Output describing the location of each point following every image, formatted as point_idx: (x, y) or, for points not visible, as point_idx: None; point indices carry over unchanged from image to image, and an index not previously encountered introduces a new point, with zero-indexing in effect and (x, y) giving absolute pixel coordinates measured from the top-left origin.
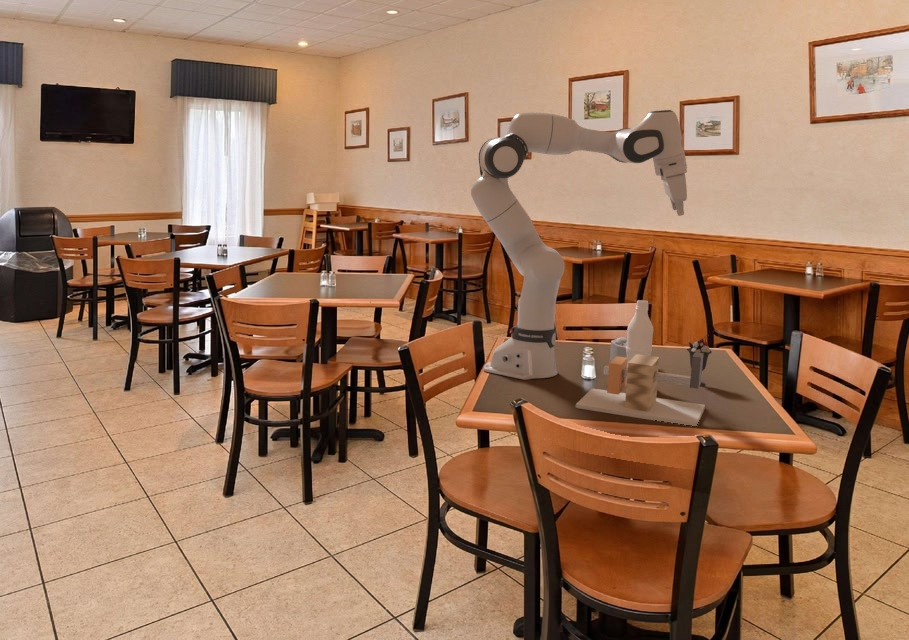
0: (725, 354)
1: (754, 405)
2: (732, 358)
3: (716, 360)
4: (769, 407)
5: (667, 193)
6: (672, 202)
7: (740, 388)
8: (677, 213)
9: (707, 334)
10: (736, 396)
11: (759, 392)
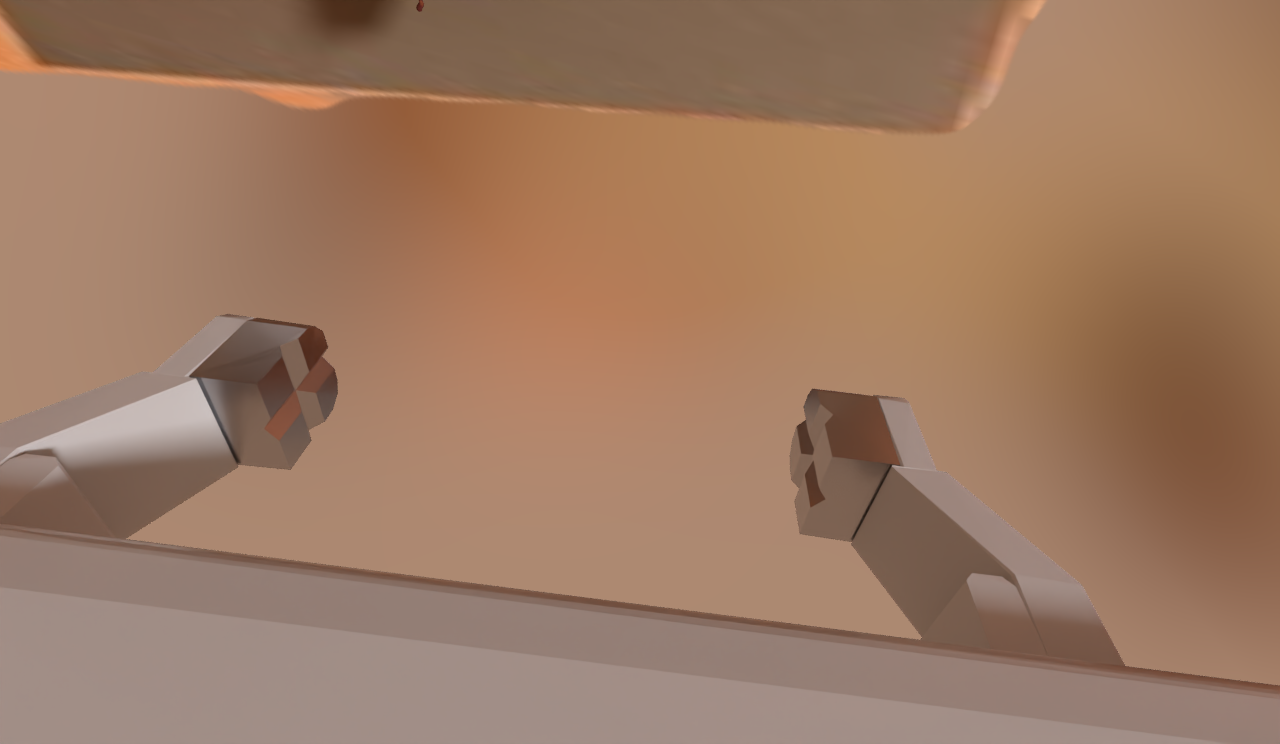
0: (894, 122)
1: (270, 35)
2: (837, 129)
3: (816, 68)
4: (275, 75)
5: (826, 721)
6: (917, 508)
7: (456, 48)
8: (217, 331)
9: (420, 4)
10: (348, 5)
11: (432, 94)
